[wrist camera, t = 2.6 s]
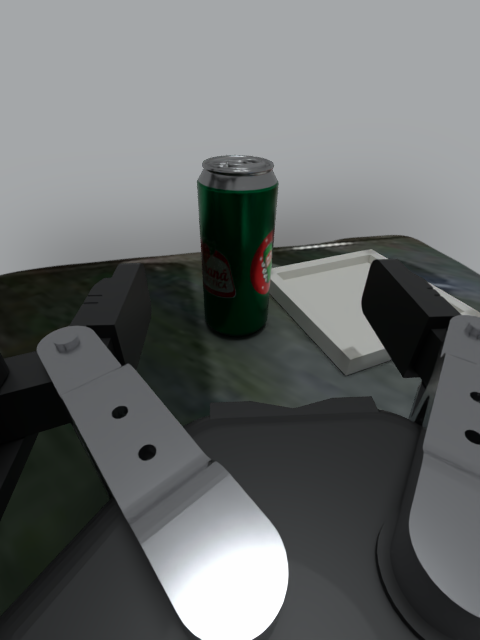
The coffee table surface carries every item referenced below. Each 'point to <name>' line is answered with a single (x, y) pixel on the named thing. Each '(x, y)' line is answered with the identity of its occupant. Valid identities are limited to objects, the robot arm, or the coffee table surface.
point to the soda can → (237, 241)
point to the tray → (337, 307)
